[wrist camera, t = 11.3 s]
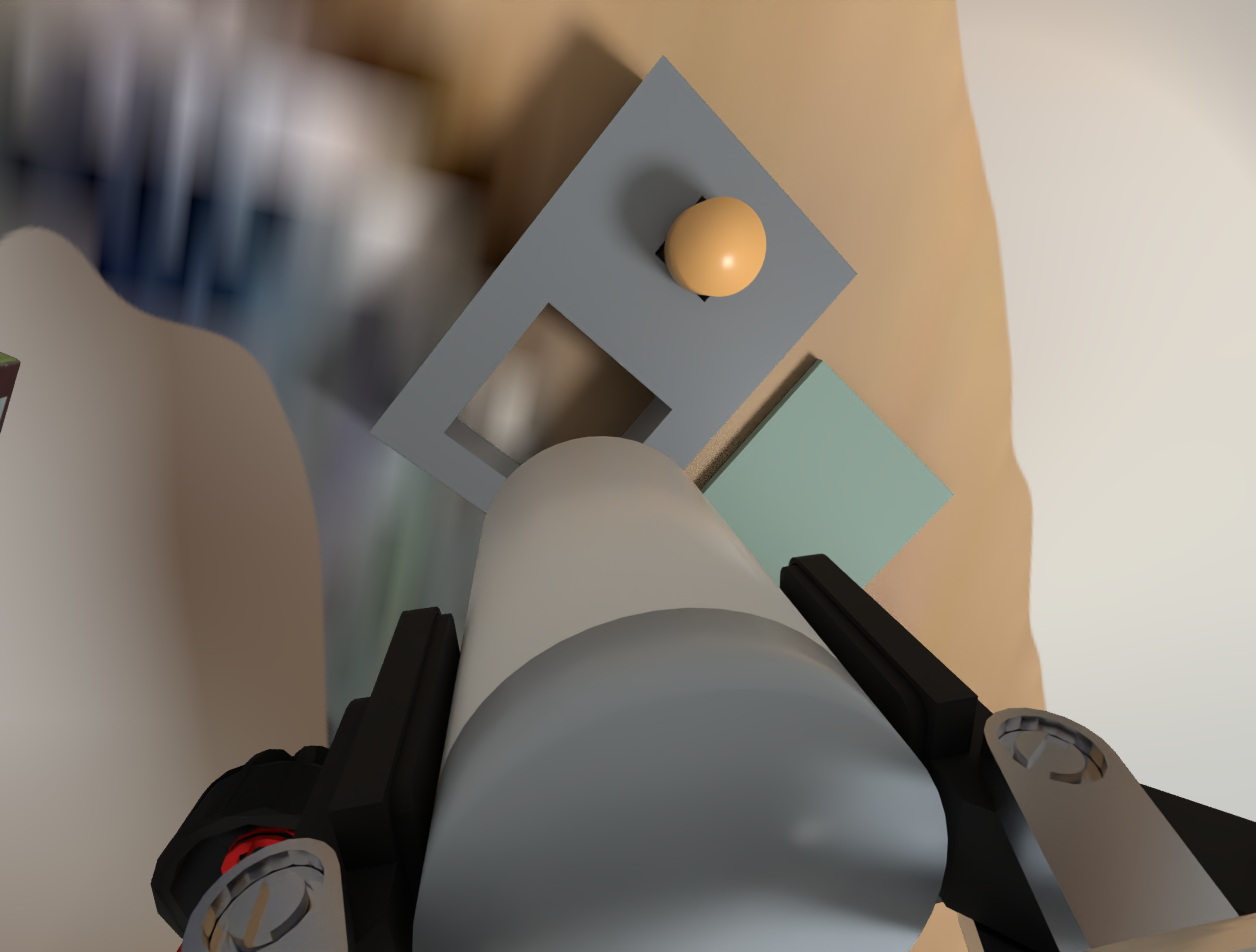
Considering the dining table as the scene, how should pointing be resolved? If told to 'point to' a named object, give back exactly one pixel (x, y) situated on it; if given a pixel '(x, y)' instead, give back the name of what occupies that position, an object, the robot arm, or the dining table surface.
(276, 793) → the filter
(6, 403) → the protein box
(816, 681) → the dome-topped cylinder
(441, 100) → the dining table surface
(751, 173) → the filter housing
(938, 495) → the mat
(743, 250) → the release plunger
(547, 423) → the dining table surface
